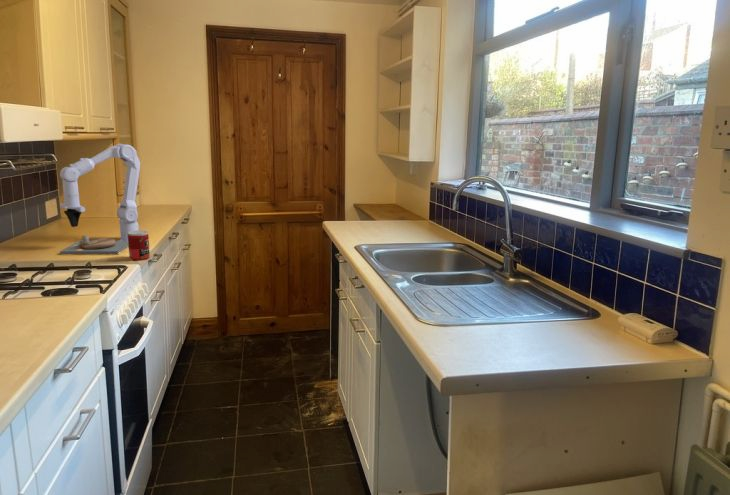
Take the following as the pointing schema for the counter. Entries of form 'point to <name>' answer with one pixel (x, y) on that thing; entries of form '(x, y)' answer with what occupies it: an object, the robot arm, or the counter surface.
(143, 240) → the canned food
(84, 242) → the dial
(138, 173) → the robot arm
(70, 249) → the board
